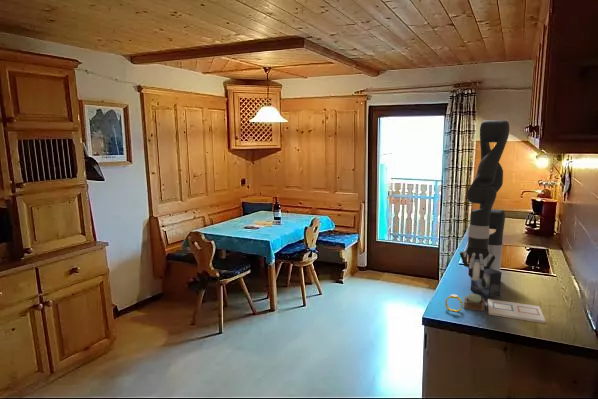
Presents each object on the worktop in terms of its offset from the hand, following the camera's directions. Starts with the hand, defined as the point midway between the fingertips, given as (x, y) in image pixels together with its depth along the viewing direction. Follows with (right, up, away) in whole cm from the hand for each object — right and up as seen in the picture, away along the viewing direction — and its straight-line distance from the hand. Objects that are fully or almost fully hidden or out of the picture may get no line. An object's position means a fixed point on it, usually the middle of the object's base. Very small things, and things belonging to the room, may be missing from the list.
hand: (475, 277), depth 170 cm
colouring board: (+9, -10, -13) cm, 19 cm away
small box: (+7, -8, +7) cm, 13 cm away
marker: (0, -1, 0) cm, 1 cm away
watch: (-14, -10, -14) cm, 22 cm away
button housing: (-5, -9, -10) cm, 14 cm away
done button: (-5, -8, -10) cm, 13 cm away
